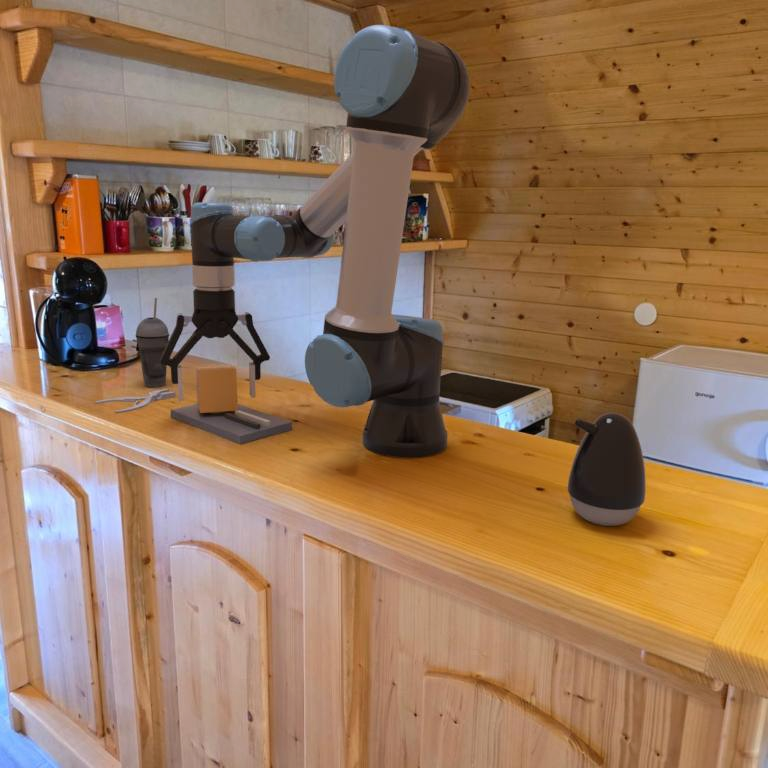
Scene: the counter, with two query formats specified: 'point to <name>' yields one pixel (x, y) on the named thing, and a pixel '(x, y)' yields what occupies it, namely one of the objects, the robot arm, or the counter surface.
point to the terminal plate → (233, 423)
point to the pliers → (148, 399)
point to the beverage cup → (152, 349)
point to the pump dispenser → (608, 471)
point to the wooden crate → (216, 389)
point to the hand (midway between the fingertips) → (217, 398)
